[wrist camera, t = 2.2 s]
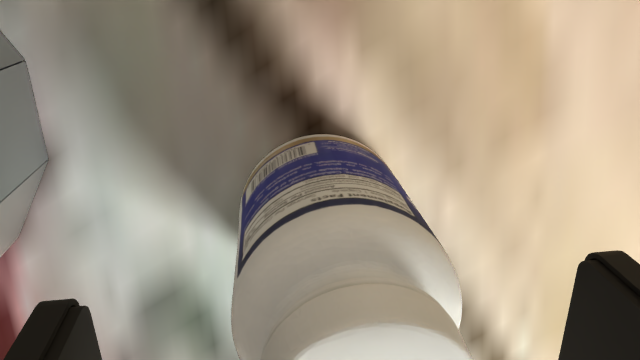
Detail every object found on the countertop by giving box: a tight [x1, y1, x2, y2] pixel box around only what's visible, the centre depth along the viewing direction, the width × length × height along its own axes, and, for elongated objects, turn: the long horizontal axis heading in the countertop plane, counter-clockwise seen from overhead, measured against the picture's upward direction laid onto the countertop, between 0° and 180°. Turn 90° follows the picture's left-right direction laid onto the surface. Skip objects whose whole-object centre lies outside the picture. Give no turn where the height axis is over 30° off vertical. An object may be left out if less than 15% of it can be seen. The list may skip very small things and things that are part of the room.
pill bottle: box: [231, 134, 473, 360], centre depth 13 cm, size 5×5×9 cm
